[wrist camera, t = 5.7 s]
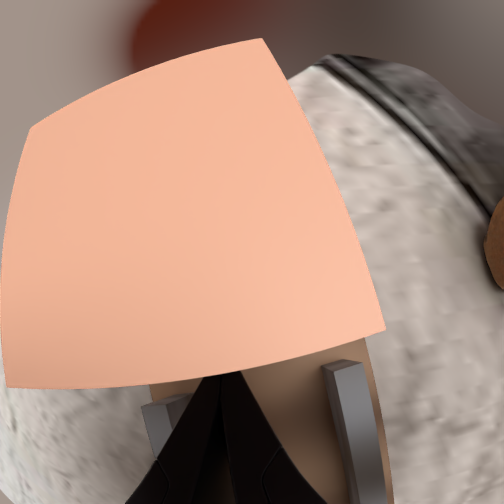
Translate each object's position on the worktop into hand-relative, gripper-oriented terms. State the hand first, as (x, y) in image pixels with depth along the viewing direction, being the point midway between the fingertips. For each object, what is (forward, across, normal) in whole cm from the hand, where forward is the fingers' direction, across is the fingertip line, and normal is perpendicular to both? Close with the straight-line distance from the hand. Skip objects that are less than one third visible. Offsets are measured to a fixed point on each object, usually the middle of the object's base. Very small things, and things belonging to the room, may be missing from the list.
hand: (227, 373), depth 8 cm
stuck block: (+7, 0, +2) cm, 7 cm away
